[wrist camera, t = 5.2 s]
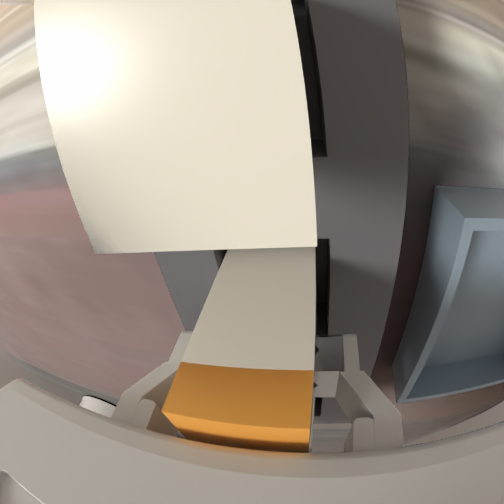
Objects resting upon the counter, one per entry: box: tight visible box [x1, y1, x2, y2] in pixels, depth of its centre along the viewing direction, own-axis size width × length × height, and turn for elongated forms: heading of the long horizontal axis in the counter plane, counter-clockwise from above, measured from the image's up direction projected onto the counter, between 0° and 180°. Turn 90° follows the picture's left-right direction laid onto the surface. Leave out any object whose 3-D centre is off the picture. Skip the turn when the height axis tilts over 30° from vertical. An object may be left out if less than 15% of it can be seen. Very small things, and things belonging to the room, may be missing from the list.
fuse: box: [34, 0, 317, 254], centre depth 6 cm, size 5×4×9 cm
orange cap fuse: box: [162, 247, 316, 453], centre depth 11 cm, size 5×4×9 cm
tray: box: [392, 185, 504, 403], centre depth 13 cm, size 15×12×4 cm
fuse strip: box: [154, 0, 409, 424], centre depth 14 cm, size 27×10×4 cm, turn 9°
